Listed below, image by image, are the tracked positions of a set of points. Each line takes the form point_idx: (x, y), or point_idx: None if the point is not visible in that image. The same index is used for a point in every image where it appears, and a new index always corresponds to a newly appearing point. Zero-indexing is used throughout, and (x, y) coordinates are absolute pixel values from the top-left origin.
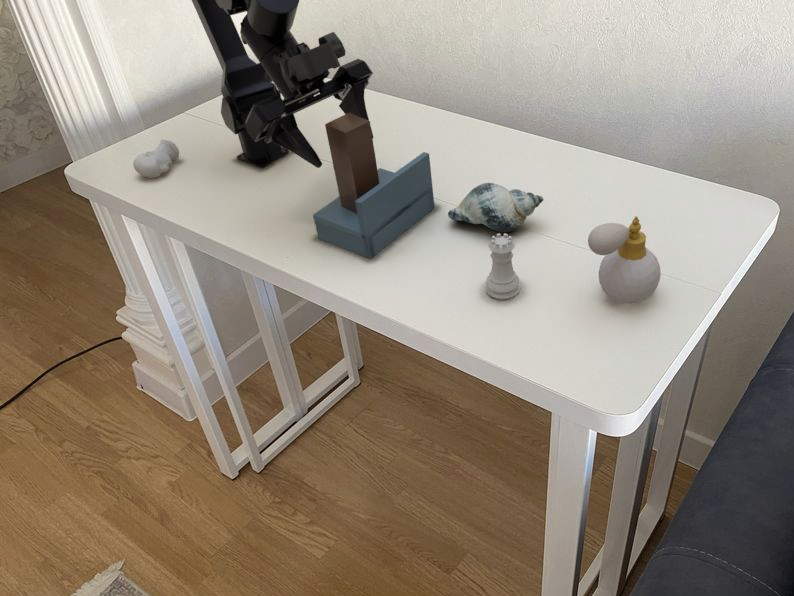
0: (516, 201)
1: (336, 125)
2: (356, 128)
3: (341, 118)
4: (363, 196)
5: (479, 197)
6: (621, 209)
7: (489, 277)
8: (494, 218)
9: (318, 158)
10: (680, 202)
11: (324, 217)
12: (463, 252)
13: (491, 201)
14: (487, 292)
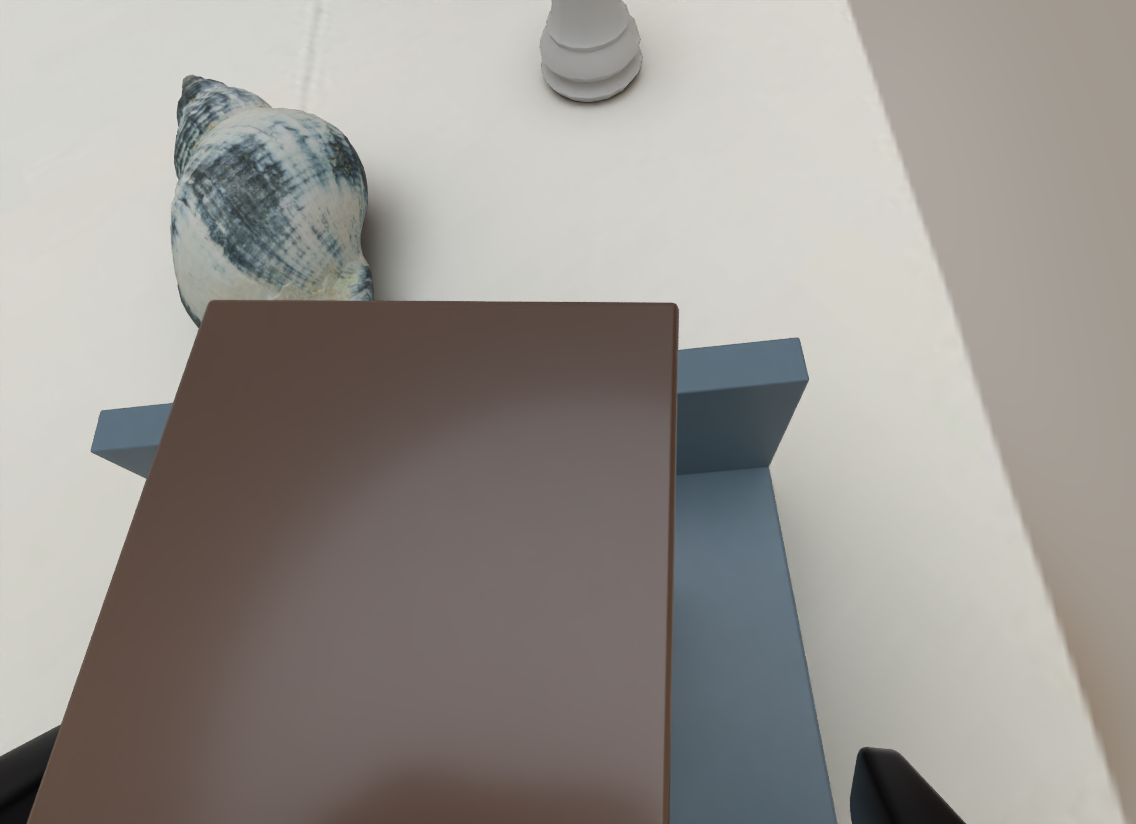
0: (253, 102)
1: (570, 628)
2: (464, 306)
3: (295, 773)
4: (733, 376)
5: (298, 175)
6: (94, 73)
7: (618, 37)
8: (354, 151)
9: (895, 795)
10: (22, 4)
11: (812, 769)
12: (499, 251)
13: (305, 129)
14: (637, 72)
